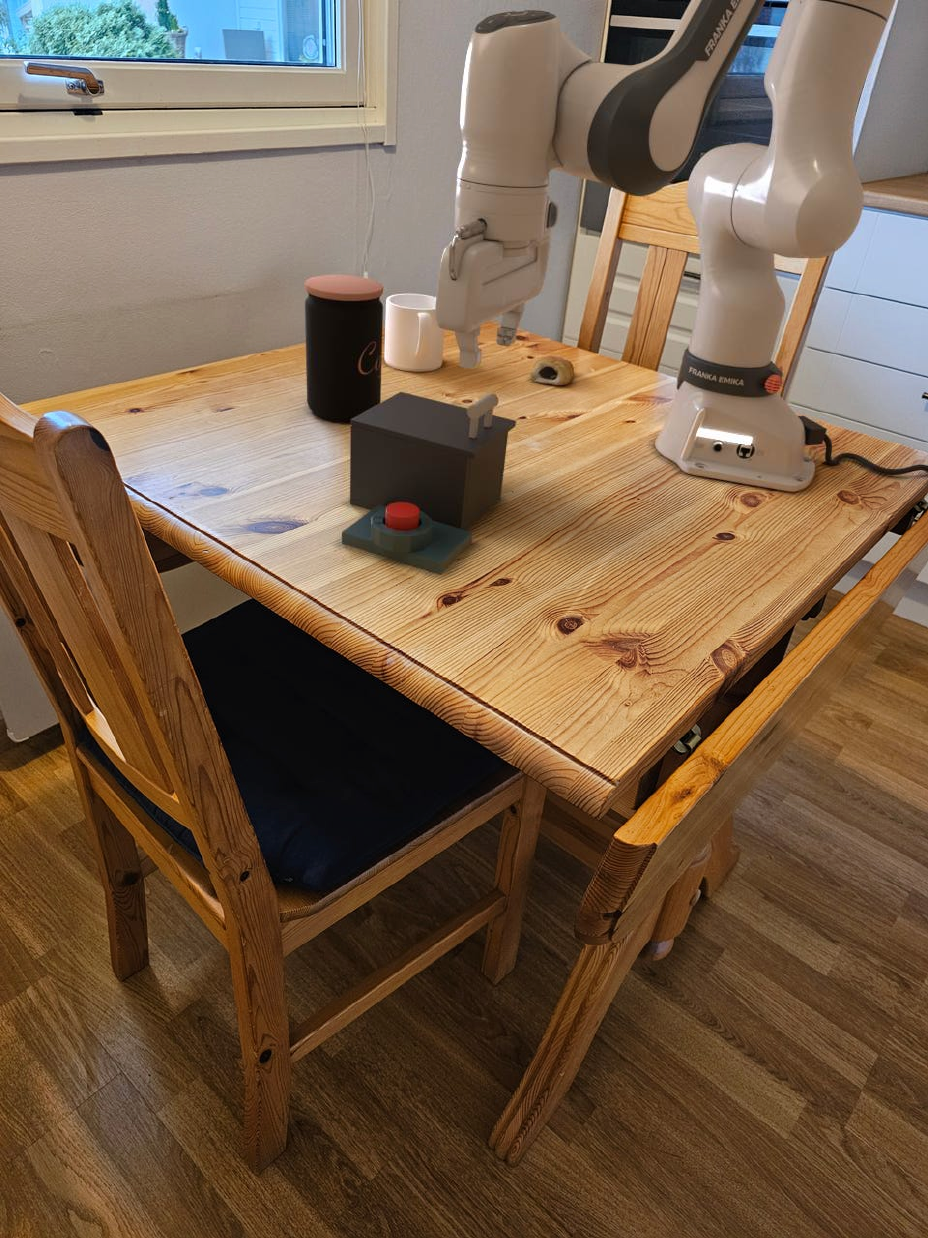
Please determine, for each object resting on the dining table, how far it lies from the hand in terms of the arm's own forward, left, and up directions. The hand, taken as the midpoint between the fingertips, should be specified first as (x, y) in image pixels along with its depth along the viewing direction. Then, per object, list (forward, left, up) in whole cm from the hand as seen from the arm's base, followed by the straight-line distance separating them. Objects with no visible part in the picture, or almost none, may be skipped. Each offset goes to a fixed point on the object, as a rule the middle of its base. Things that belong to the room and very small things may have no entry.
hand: (488, 355), depth 91 cm
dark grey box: (+6, 0, -19) cm, 20 cm away
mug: (+32, -45, -19) cm, 59 cm away
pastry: (+10, -54, -19) cm, 59 cm away
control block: (+3, +11, -19) cm, 22 cm away
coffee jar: (+30, -19, -19) cm, 41 cm away
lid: (+6, 0, -9) cm, 11 cm away
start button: (+3, +12, -16) cm, 20 cm away
